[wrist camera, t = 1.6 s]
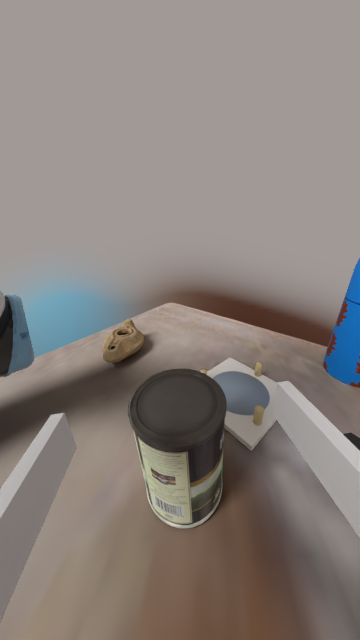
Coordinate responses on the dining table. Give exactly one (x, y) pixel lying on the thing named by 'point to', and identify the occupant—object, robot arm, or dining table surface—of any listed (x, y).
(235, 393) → the pin jig
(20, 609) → the dining table surface
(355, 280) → the thermos
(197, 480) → the coffee can
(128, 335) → the oil lamp
